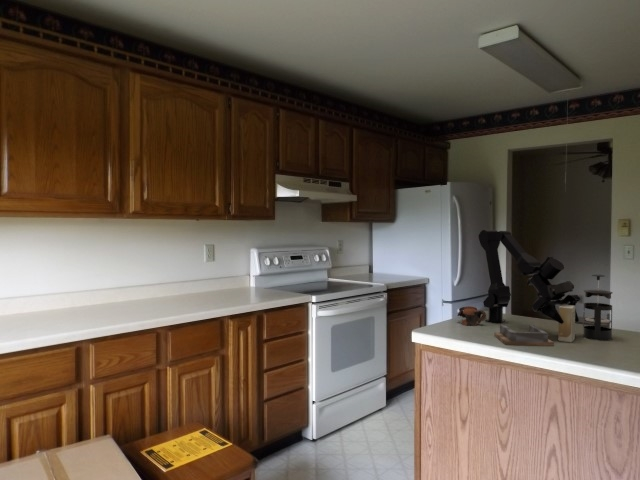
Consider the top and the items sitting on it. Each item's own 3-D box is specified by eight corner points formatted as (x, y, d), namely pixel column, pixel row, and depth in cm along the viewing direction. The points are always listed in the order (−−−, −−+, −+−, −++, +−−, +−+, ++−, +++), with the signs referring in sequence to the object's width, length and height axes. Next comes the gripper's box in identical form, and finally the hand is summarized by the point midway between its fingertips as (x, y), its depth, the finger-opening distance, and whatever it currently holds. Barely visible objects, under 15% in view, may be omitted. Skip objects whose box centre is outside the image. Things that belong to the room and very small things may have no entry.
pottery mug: (454, 325, 189) (453, 307, 193) (463, 332, 195) (462, 314, 199) (483, 321, 182) (481, 302, 186) (492, 328, 188) (490, 309, 192)
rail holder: (494, 335, 169) (494, 324, 169) (539, 336, 168) (539, 325, 168) (505, 344, 156) (505, 332, 156) (554, 345, 155) (554, 333, 155)
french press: (613, 342, 160) (614, 276, 160) (582, 338, 165) (583, 275, 164) (611, 335, 170) (612, 273, 170) (582, 332, 175) (583, 272, 174)
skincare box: (561, 337, 167) (562, 304, 167) (575, 339, 164) (575, 305, 164) (557, 340, 162) (558, 306, 162) (571, 342, 159) (572, 307, 159)
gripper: (539, 274, 163) (565, 310, 153) (576, 272, 170) (604, 307, 160) (521, 293, 170) (545, 329, 160) (557, 291, 177) (583, 325, 167)
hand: (570, 322), depth 162 cm, fingers closed on skincare box, 7 cm apart
